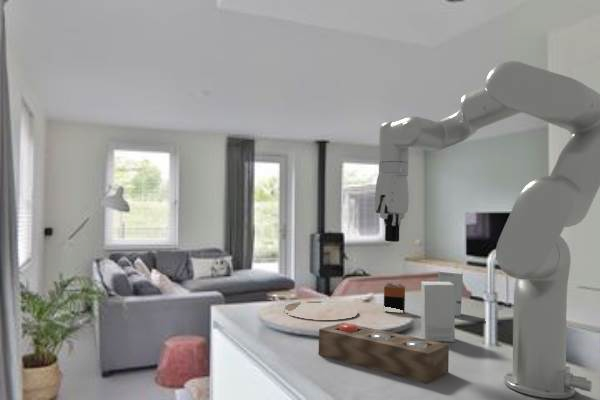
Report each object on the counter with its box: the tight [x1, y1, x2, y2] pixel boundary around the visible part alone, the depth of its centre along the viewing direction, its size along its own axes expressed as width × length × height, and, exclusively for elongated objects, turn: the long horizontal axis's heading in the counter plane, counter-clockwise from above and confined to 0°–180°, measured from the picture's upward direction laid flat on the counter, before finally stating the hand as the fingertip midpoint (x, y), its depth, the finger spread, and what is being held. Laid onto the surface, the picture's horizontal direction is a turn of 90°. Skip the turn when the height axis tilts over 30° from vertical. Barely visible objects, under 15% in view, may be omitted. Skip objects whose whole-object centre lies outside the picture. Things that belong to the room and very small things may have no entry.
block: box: [318, 322, 450, 385], centre depth 108 cm, size 28×10×6 cm, turn 49°
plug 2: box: [406, 341, 427, 349], centre depth 102 cm, size 4×4×5 cm
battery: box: [383, 282, 406, 312], centre depth 167 cm, size 4×7×10 cm, turn 71°
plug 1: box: [371, 333, 391, 340], centre depth 108 cm, size 4×4×5 cm
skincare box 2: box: [437, 270, 464, 317], centre depth 166 cm, size 8×6×15 cm
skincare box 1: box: [420, 280, 456, 343], centre depth 131 cm, size 8×7×16 cm
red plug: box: [339, 323, 359, 333], centre depth 114 cm, size 4×4×5 cm
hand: (392, 241), depth 122 cm, fingers closed
